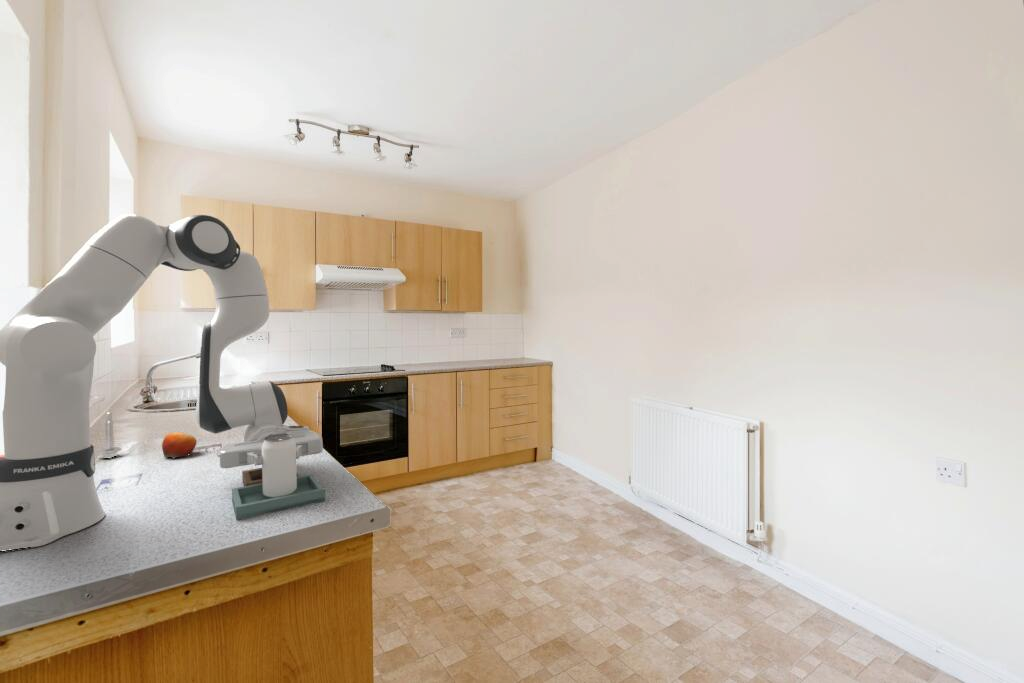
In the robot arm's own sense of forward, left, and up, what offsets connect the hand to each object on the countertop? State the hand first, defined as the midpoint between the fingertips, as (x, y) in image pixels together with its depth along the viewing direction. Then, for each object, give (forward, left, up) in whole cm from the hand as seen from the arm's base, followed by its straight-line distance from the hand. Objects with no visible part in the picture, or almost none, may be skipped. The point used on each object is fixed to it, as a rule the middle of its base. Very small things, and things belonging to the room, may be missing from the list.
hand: (278, 458), depth 94 cm
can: (0, +1, -8) cm, 8 cm away
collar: (0, +14, -9) cm, 17 cm away
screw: (-34, +64, -9) cm, 73 cm away
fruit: (-18, +54, -10) cm, 58 cm away
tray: (0, +1, -9) cm, 9 cm away
